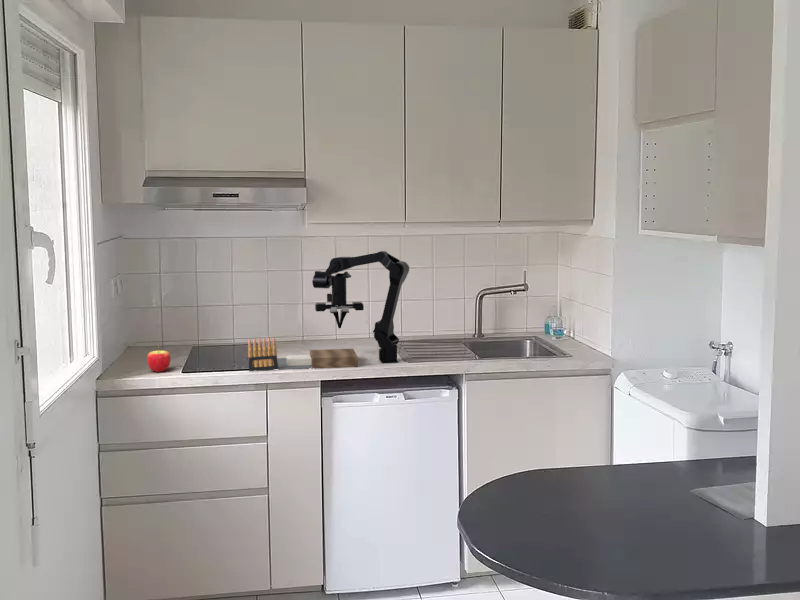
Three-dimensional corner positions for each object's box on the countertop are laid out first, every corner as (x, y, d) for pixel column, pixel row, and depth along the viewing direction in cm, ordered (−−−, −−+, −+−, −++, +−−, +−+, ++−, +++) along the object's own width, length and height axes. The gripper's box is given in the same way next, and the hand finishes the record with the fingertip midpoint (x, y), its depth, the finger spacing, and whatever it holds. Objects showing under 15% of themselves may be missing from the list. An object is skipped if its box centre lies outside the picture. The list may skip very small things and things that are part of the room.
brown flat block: (353, 358, 323) (352, 348, 323) (357, 366, 308) (357, 356, 307) (310, 360, 320) (309, 350, 320) (312, 368, 305) (312, 358, 304)
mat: (308, 358, 324) (308, 357, 324) (311, 368, 305) (311, 367, 305) (272, 359, 322) (272, 358, 322) (273, 370, 302) (273, 369, 302)
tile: (309, 361, 316) (309, 354, 316) (311, 364, 310) (311, 358, 309) (286, 362, 315) (286, 355, 314) (287, 365, 308) (287, 359, 308)
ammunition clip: (278, 367, 304) (275, 336, 303) (278, 368, 303) (275, 336, 301) (249, 370, 303) (246, 338, 301) (248, 371, 301) (246, 339, 299)
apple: (172, 368, 306) (171, 342, 305) (169, 373, 298) (168, 346, 296) (149, 369, 305) (148, 342, 304) (146, 374, 297) (144, 347, 295)
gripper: (360, 286, 330) (360, 324, 332) (313, 287, 327) (314, 325, 329) (363, 289, 319) (363, 328, 321) (315, 290, 316) (316, 330, 318)
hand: (339, 328), depth 323 cm, fingers closed
